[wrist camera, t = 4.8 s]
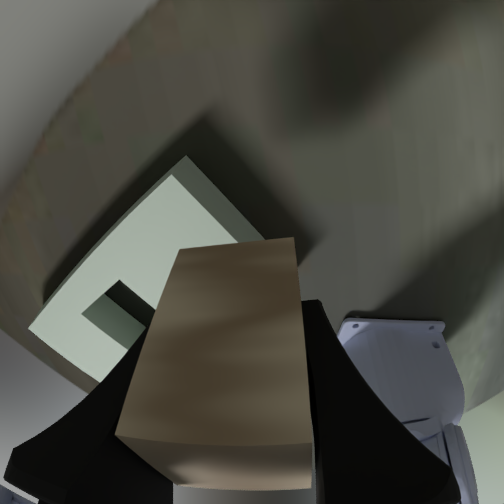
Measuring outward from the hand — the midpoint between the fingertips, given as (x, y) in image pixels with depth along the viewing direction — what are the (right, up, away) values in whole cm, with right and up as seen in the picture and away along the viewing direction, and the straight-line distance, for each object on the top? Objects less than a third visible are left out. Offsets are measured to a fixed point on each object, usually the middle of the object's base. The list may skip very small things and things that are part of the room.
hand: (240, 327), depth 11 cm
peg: (0, +1, +2) cm, 2 cm away
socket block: (-8, -1, +12) cm, 14 cm away
